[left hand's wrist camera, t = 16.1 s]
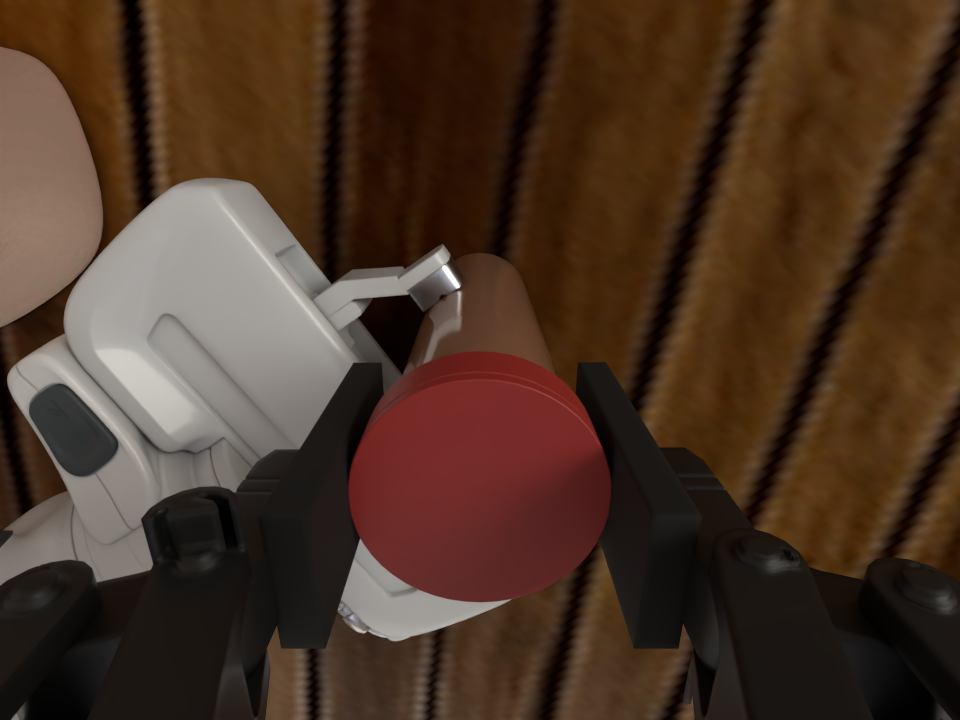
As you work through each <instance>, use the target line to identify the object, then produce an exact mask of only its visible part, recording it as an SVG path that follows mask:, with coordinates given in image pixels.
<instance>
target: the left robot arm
mask: <svg viewBox="0 0 960 720" xmlns="http://www.w3.org/2000/svg"><path fill="white" fill-rule="evenodd" d="M383 395H384V388H383V374H382V363H353V364H352V366H351V368H350V369H349V371H348V372H347V374H346V376H345V377H344V379H343V380H342V382H341V384H340V385H339V387H338V388H337V390H336V392H335V393H334V395H333V396H332V398H331V400H330V401H329V403H328V404H327V406H326V408H325V409H324V411H323V412H322V414H321V416H320V417H319V419H318V420H317V422H316V424H315V425H314V427H313V428H312V430H311V432H310V433H309V435H308V436H307V438H306V440H305V441H304V443H303V444H302V446H301V448H300V449H275V450H274V451H272V452H271V453H269V454H268V455H266V456H265V457H263V458H262V459H260V460H259V461H257V462H256V463H255V465H254V466H253V467H252V469H251V470H250V471H249V473H248V474H247V476H246V479H245V480H243V481H242V482H241V484H240V485H239V486H238V488H237V491H236V492H232V491H231V490H230V489H227V488H223V487H218V486H207V487H197V488H193V489H188V490H184V491H181V492H178V493H176V494H174V495H171V496H169V497H166V498H164V499H163V500H161V501H160V502H158V503H157V504H155V505H154V506H152V507H151V508H150V509H149V510H148V511H147V512H146V513H145V515H144V516H143V517H142V518H141V522H142V525H143V529H144V533H145V536H146V540H147V544H148V547H149V551H150V554H151V558H152V562H153V566H152V568H151V570H148V571H144V572H141V573H137V574H132V575H128V576H123V577H119V578H114V579H110V580H105V581H100V582H97V581H96V578H95V575H94V572H93V569H92V567H90V566H89V565H88V564H87V563H85V562H84V561H77V560H63V561H55V562H49V563H46V564H42V565H40V566H36V567H33V568H31V569H28V570H26V571H24V572H22V573H20V574H19V575H17V576H15V577H13V578H11V579H9V580H7V581H6V582H4V583H3V584H2V585H0V720H11V719H12V718H13V717H14V715H15V714H16V713H17V715H18V717H19V720H265V715H266V706H267V697H268V688H269V678H270V663H269V657H268V652H267V646H268V644H269V642H270V639H271V637H272V635H273V633H274V630H275V628H276V626H277V627H278V633H279V638H280V644H281V648H326V645H327V642H328V639H329V636H330V633H331V630H332V626H333V623H334V620H335V617H336V614H337V611H338V607H339V604H340V601H341V598H342V595H343V592H344V588H345V585H346V582H347V579H348V576H349V573H350V569H351V566H352V563H353V560H354V557H355V554H356V550H357V547H358V544H359V541H360V537H359V535H358V533H357V531H356V529H355V526H354V523H353V520H352V518H351V511H350V503H349V493H348V477H349V470H350V467H351V463H352V460H353V457H354V454H355V452H356V450H357V447H358V445H359V442H360V440H361V438H362V435H363V433H364V431H365V428H366V426H367V424H368V421H369V419H370V417H371V415H372V413H373V410H374V408H375V407H376V405H377V404H378V402H379V401H380V399H381V398H382V396H383ZM576 395H577V397H578V398H579V400H580V401H581V403H582V404H583V406H584V407H585V409H586V411H587V413H588V415H589V417H590V420H591V422H592V424H593V426H594V429H595V431H596V433H597V436H598V438H599V440H600V443H601V445H602V447H603V450H604V452H605V454H606V457H607V461H608V464H609V467H610V472H611V479H612V488H611V499H610V508H609V516H608V519H607V522H606V525H605V528H604V530H603V532H602V534H601V536H600V538H599V539H600V542H601V545H602V548H603V551H604V555H605V558H606V561H607V564H608V567H609V570H610V574H611V577H612V580H613V583H614V586H615V589H616V593H617V596H618V599H619V602H620V605H621V608H622V612H623V615H624V618H625V621H626V624H627V627H628V631H629V634H630V637H631V640H632V643H633V646H634V648H679V642H680V636H681V631H682V625H683V624H684V626H685V628H686V631H687V633H688V635H689V637H690V640H691V642H692V644H693V652H692V657H691V662H690V667H689V672H688V677H687V683H686V688H685V694H684V701H683V702H684V703H688V704H690V703H691V698H692V696H693V705H694V714H695V720H960V582H958V581H957V580H956V579H954V578H953V577H951V576H949V575H947V574H945V573H943V572H941V571H939V570H937V569H935V568H933V567H931V566H928V565H926V564H921V563H920V562H916V561H912V560H908V559H900V558H893V557H888V558H881V559H876V560H875V561H873V562H872V563H871V564H870V565H868V568H867V571H866V574H865V577H864V580H861V579H856V578H852V577H847V576H843V575H838V574H833V573H829V572H824V571H820V570H817V569H813V568H809V567H808V565H807V563H806V561H805V560H804V559H803V557H802V556H801V554H800V553H799V552H798V551H797V550H796V549H794V548H793V547H792V546H791V545H789V544H788V543H787V542H785V541H784V540H781V539H779V538H777V537H775V536H773V535H771V534H769V533H766V532H762V531H758V530H755V529H754V527H753V526H752V525H751V523H750V522H749V521H748V519H747V518H746V517H745V515H744V514H743V513H742V511H741V510H740V509H739V507H738V506H737V505H736V503H735V502H734V501H733V499H732V498H731V497H730V495H729V494H728V493H727V491H726V490H724V489H723V486H722V484H721V483H720V482H719V480H718V479H717V478H715V477H714V474H713V472H712V471H711V470H710V468H709V467H708V466H707V464H706V463H705V462H704V460H702V459H701V458H699V457H698V456H696V455H695V454H693V453H692V452H690V451H689V450H687V449H686V448H659V447H658V445H657V443H656V442H655V440H654V439H653V437H652V435H651V434H650V432H649V431H648V429H647V427H646V426H645V424H644V423H643V421H642V419H641V418H640V416H639V415H638V413H637V411H636V410H635V408H634V407H633V405H632V403H631V402H630V400H629V398H628V397H627V395H626V394H625V392H624V390H623V389H622V387H621V386H620V384H619V382H618V381H617V379H616V378H615V376H614V374H613V373H612V371H611V370H610V368H609V366H608V365H607V363H578V369H577V383H576Z"/></svg>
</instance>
